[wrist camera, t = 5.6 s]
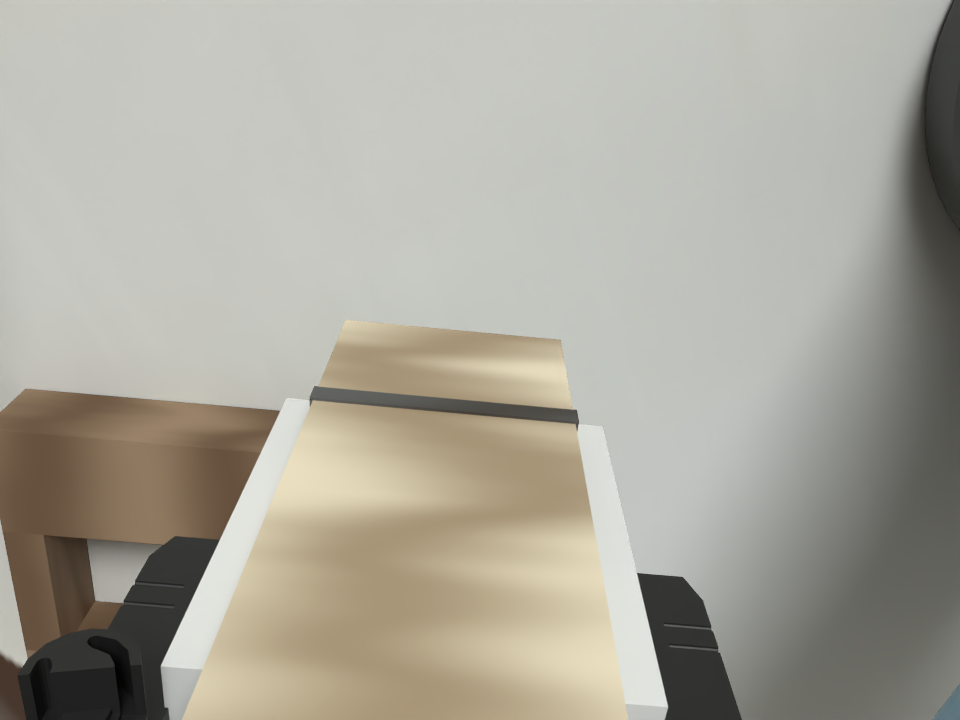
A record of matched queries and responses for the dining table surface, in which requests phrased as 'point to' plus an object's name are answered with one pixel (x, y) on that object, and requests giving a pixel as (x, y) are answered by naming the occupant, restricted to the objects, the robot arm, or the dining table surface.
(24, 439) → the walnut board
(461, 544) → the beech peg
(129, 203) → the dining table surface
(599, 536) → the robot arm
